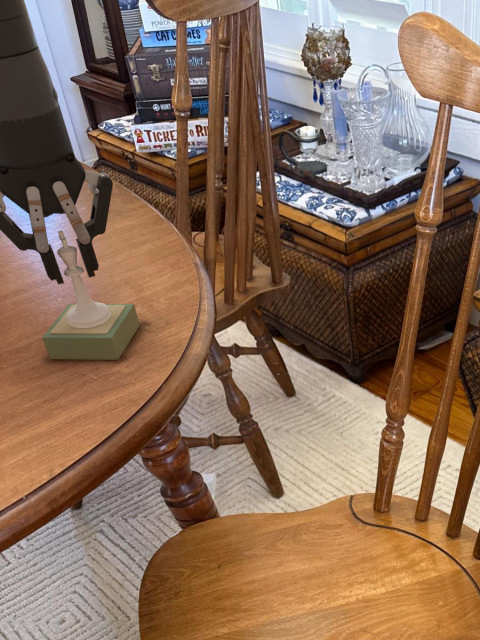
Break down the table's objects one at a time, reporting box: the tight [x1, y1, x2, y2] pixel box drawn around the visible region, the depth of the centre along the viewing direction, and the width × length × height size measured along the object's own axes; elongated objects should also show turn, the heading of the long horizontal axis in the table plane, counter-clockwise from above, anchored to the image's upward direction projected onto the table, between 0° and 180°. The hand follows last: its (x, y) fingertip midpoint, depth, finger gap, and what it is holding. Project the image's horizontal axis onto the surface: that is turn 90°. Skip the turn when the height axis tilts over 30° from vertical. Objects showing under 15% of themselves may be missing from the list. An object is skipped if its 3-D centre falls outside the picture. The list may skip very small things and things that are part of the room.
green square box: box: [41, 303, 141, 361], centre depth 90 cm, size 8×8×3 cm
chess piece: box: [56, 230, 112, 328], centre depth 86 cm, size 5×5×10 cm
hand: (75, 277), depth 86 cm, fingers closed
